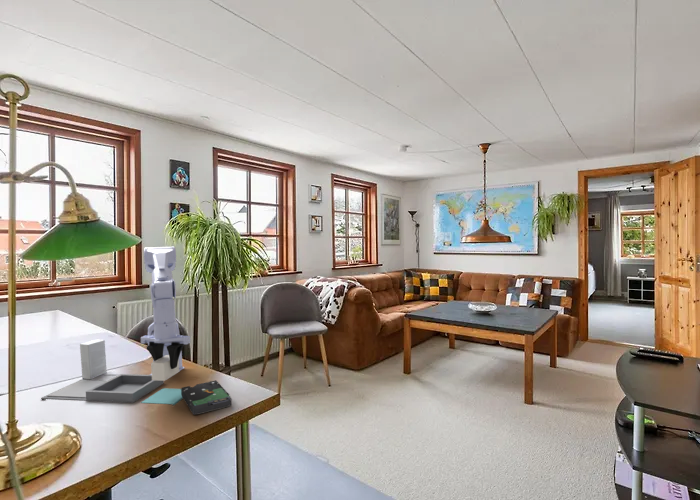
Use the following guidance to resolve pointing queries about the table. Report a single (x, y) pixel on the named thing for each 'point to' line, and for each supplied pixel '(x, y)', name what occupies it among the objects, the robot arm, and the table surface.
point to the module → (163, 369)
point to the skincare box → (93, 358)
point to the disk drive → (205, 397)
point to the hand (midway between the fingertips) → (166, 367)
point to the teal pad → (165, 397)
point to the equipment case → (108, 389)
